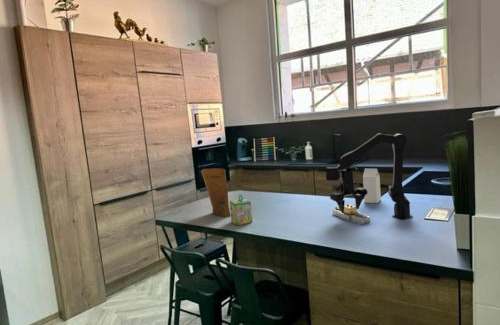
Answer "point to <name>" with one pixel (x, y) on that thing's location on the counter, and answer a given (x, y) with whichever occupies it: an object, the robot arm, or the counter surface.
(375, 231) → the counter surface
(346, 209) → the studded golden block
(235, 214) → the chalk box
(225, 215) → the pancake mix bag
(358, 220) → the chrome-studded grey beam
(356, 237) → the counter surface
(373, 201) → the milk carton
